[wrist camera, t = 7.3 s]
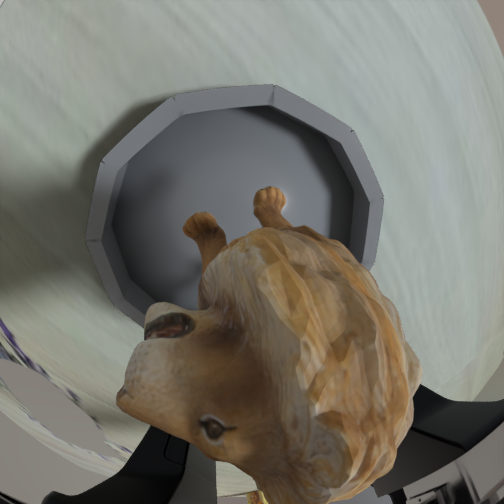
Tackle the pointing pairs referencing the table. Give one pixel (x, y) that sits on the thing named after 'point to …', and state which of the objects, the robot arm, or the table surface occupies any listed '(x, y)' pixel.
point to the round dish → (223, 187)
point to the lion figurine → (279, 362)
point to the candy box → (256, 498)
